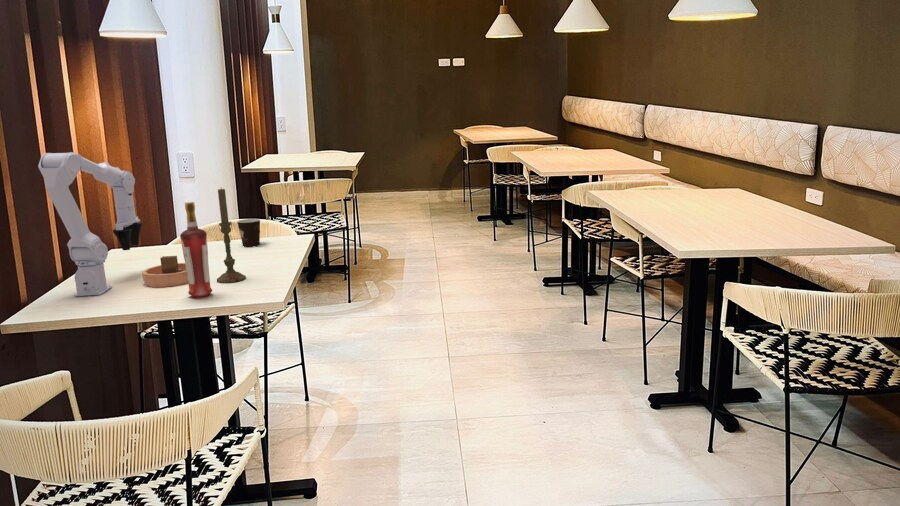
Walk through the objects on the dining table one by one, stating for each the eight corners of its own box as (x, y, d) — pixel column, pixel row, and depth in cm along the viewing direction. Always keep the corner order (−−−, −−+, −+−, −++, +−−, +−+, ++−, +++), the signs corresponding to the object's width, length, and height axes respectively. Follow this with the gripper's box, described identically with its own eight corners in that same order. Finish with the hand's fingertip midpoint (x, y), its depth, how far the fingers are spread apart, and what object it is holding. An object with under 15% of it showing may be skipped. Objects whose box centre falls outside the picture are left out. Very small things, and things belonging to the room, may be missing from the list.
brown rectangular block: (177, 278, 235) (174, 257, 233) (163, 279, 235) (160, 258, 233) (179, 276, 237) (176, 255, 236) (165, 277, 237) (162, 256, 235)
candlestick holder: (216, 284, 229) (205, 189, 222) (217, 277, 237) (206, 186, 231) (246, 281, 231) (236, 187, 225) (246, 274, 240) (236, 184, 233)
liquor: (186, 294, 218) (175, 202, 212) (212, 291, 221) (201, 200, 215) (188, 300, 212) (176, 205, 206) (215, 296, 215) (204, 203, 209)
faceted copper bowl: (189, 285, 229) (187, 273, 228) (137, 288, 228) (135, 276, 227) (202, 273, 244) (201, 261, 243) (154, 276, 243) (152, 264, 243)
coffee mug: (239, 244, 290) (237, 219, 288) (261, 242, 292) (259, 217, 290) (240, 250, 279) (237, 224, 277) (263, 247, 282) (261, 222, 279)
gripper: (129, 210, 232) (134, 251, 235) (145, 203, 246) (150, 242, 249) (106, 211, 232) (112, 252, 235) (124, 204, 246) (129, 243, 249)
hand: (130, 247), depth 242 cm, fingers open, 7 cm apart
